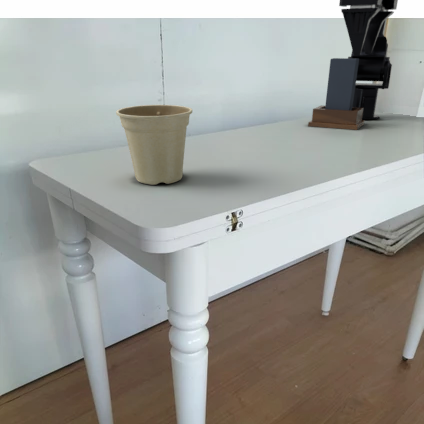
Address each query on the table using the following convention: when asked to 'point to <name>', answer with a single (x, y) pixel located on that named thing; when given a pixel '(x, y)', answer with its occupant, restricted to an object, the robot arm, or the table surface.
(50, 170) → the table surface
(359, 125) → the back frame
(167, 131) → the flower pot
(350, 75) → the back pad
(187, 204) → the table surface
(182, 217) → the table surface
